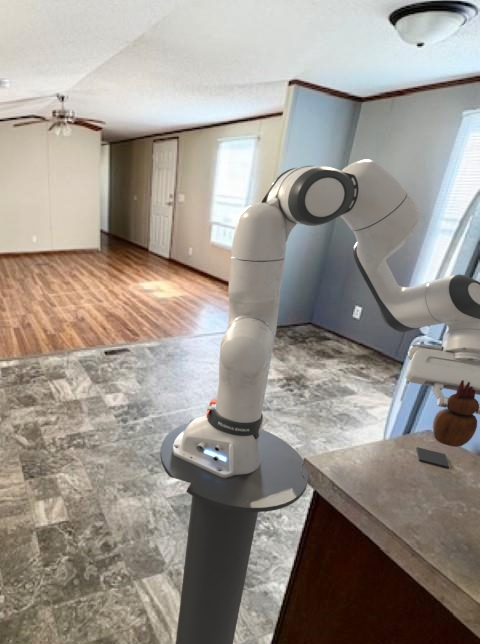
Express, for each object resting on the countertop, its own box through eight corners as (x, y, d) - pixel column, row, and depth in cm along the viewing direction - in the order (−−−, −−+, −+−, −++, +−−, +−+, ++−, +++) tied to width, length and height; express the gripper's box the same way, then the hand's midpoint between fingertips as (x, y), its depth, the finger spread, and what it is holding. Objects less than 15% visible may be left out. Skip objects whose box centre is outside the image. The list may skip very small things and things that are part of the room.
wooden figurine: (435, 447, 89) (458, 384, 84) (424, 432, 94) (445, 372, 89) (473, 452, 88) (499, 388, 82) (460, 437, 93) (484, 376, 87)
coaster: (418, 460, 106) (419, 459, 106) (416, 448, 111) (416, 447, 111) (448, 468, 103) (449, 466, 103) (444, 455, 108) (445, 453, 108)
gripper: (413, 335, 93) (405, 393, 89) (538, 353, 84) (534, 418, 80) (406, 347, 99) (397, 402, 95) (522, 365, 89) (518, 427, 85)
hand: (461, 409), depth 87 cm, fingers closed on wooden figurine, 5 cm apart
